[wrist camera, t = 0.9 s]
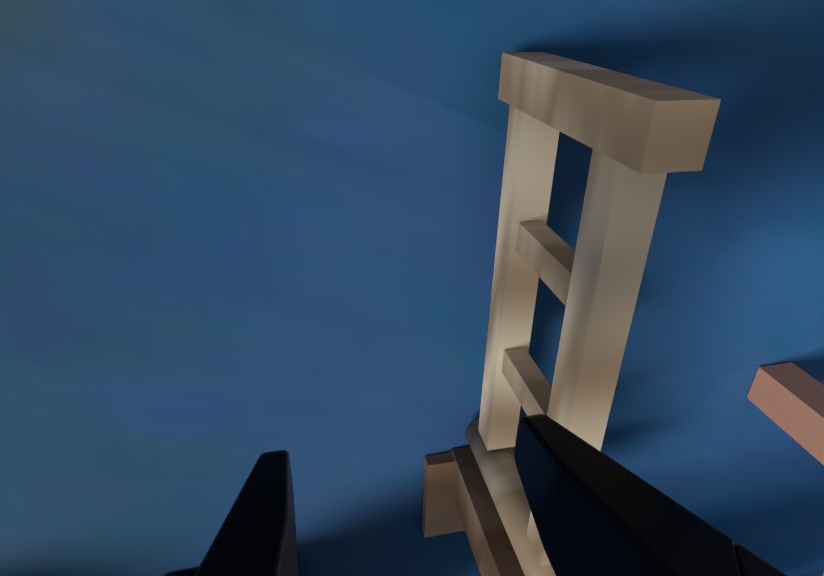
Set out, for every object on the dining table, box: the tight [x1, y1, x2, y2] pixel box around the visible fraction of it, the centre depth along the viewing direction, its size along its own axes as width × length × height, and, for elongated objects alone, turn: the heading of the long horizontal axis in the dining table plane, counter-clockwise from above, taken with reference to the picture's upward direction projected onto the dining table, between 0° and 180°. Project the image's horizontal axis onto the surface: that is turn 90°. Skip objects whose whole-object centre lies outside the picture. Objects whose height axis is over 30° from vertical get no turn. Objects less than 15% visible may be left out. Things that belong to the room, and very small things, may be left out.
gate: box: [465, 52, 721, 576], centre depth 18 cm, size 17×2×8 cm, turn 179°
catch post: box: [747, 362, 824, 465], centre depth 26 cm, size 2×2×6 cm
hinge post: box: [422, 446, 525, 576], centre depth 24 cm, size 5×5×10 cm
